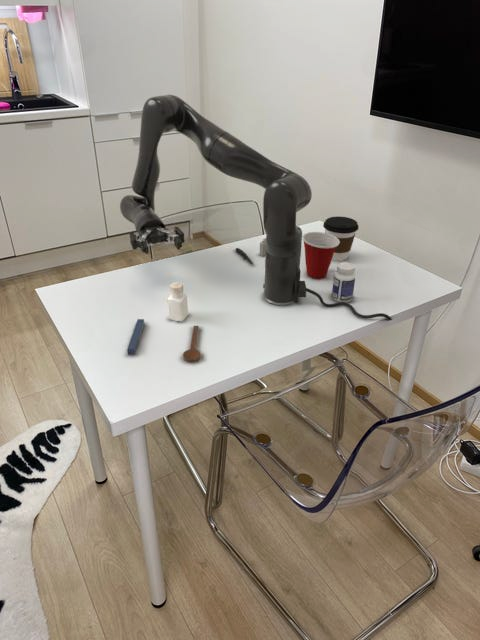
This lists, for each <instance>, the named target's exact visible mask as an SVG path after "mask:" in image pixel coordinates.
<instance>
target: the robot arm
mask: <svg viewBox="0 0 480 640" xmlns="http://www.w3.org/2000/svg"><path fill="white" fill-rule="evenodd" d="M139 131H140V132H139V145H138V154H137V155H138V156H137V162H136V166H135V170H134V174H133V178H132V181H131V190H132V191H133V193H135V194H136V195H133V194H127V195H124V196H123V197H122V199H121V200H120V202H119V210H120V213H121V215H122V217H123V218H124V219H126V220H127V221H128V222H130V223H132V224H133V225H134V227H135V228H134V229H135V231H136V233H134V232H132V231H131V232H129V233H128V234H129V243H130V245H131V248H132V250H137V249H139V250H140V251H141V252H142V253H144V254H145V255H148V254H149V247H150V246H151V245H156V244H167V245H171V244H172V245H174V247H175V249H176V250H181V248H182V247H183V244H184V243H185V242H186V241H185V233H184V231H183V230H182V229H181V228H179V226H174V227H173V229H171V230H170V229H169V228H166V225H165V223H164V222H163V221H162V219H161V218H160V217H159V215H158V214H157V213H156V207H155V195H156V189H157V185H158V181H159V178H160V174H161V164H160V160H159V159H160V158H159V154H158V148H159V143H160V141H161V138H162V136H163V134H167V133H171V132H177V133H180V134H182V135H184V136H185V137H187V138H189V139H190V140H191V141H192V142H193V143H194V144H195V145H196V147H197V149H198V152H199V154H200V155H201V157H202V158H203V160H205V161H206V163H208V164H209V165H210V166H212V167H213V168H215V169H216V170H218V171H219V172H221V173H223V174H224V175H226V176H229V177H231V178H233V179H236V180H241V181H244V182H249V183H252V184H255V185H257V186H260V187H262V188H263V189H264V193H263V198H262V200H263V201H262V210H263V211H262V212H263V213H262V214H263V215H262V216H263V217H262V219H263V220H262V221H263V230H264V232H265V234H266V235H265V238H266V256H264V257H265V260H264V283H263V299H264V300H265V301H266V302H267V303H268V304H271V305H274V306H289V305H292V304H298V303H299V298H307V293H309V294H310V295H313V296H315V297H317V298H318V300H319V302H320V304H321V305H322V306H323V307H326V308H334V307H338V306H344V307H347V308H348V309H350V311H351V312H352V313H353V315H354V316H356V317H357V318H361V319H373V318H379V317H381V318H382V317H383V318H385V319H387V321H393V318H392V317H390V315H389V314H387V313H381V312H380V313H373V314H361V313H359V312H357V311H356V309H355V308H354V306H353V305H351V303H349V302H346V303H345V302H334V303H326V302H325V301H324V299H323V297H322V295H321V294H320V293H318V292H317V291H314V290H312V289H310V288H308V287H307V285H306V281H305V280H301V274H302V273H301V255H302V243H303V237H302V236H303V230H302V228H301V227H300V226H298V225H297V212H300V211H302V210H303V209H305V208H306V207H307V205H309V204H310V202H311V200H312V198H313V197H312V196H313V195H312V194H313V193H312V189H311V185H310V184H309V182H308V181H307V180H306V179H305V178H304V177H303V176H302V175H300V174H299V173H297V172H294V171H292V170H290V169H288V168H286V167H284V166H282V165H280V164H278V163H276V162H275V161H272V160H271V159H269V158H267V157H266V156H265V155H263V154H262V153H261V152H259V151H257V150H256V149H254V148H253V147H250V146H249V145H248V144H246V143H245V142H243V141H242V140H241V139H239V138H237V137H236V136H235V135H233V134H231V133H230V132H228V131H226V130H224V129H223V128H221V127H220V126H218V125H217V124H215V123H214V122H212V121H211V120H209V119H208V118H206V117H204V116H203V115H202V114H200V113H199V112H197V111H196V110H195V109H194V108H193V107H192V106H191V105H190V104H188V103H187V102H186V101H185V100H184V99H182V98H180V97H179V96H177V95H174V94H164V95H155V96H152V97H150V98H148V99H146V101H145V102H144V104H143V106H142V110H141V120H140V130H139Z"/></svg>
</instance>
